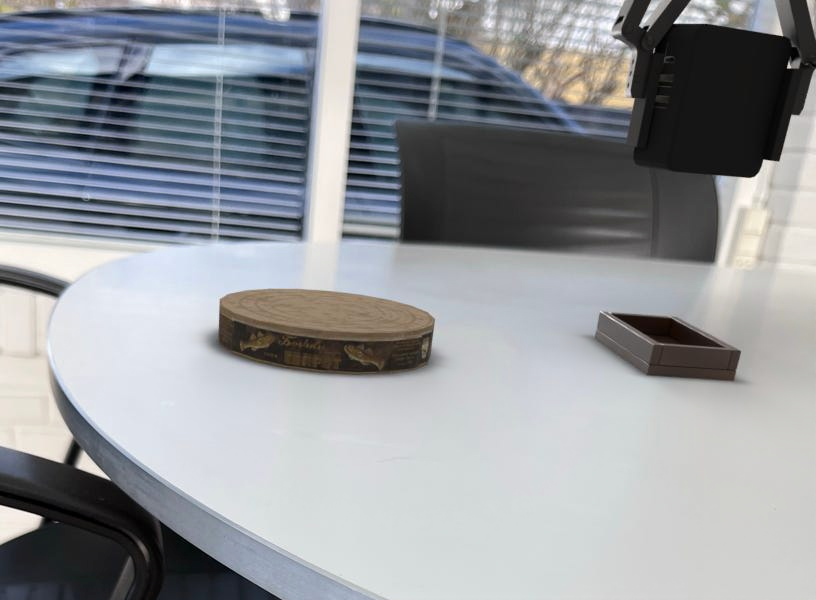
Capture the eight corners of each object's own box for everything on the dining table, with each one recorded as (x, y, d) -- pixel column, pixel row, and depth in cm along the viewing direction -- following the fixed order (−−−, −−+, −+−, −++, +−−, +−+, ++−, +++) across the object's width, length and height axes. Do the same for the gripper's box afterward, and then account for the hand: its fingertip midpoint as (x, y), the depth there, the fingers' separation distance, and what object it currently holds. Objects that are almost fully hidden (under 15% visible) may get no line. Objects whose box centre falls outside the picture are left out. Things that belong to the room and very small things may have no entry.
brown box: (670, 346, 93) (677, 316, 92) (733, 383, 81) (742, 350, 80) (593, 340, 92) (599, 311, 91) (646, 377, 80) (653, 344, 79)
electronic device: (629, 165, 85) (659, 22, 80) (722, 173, 89) (755, 37, 84) (664, 171, 82) (697, 21, 77) (759, 178, 86) (795, 38, 81)
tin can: (180, 353, 74) (181, 309, 73) (265, 318, 88) (267, 280, 87) (397, 389, 70) (402, 344, 69) (451, 347, 84) (456, 308, 83)
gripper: (642, -226, 70) (576, 142, 80) (962, -181, 73) (860, 170, 83) (607, -200, 77) (550, 137, 87) (902, -159, 79) (814, 163, 89)
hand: (701, 153), depth 85 cm, fingers closed on electronic device, 10 cm apart
